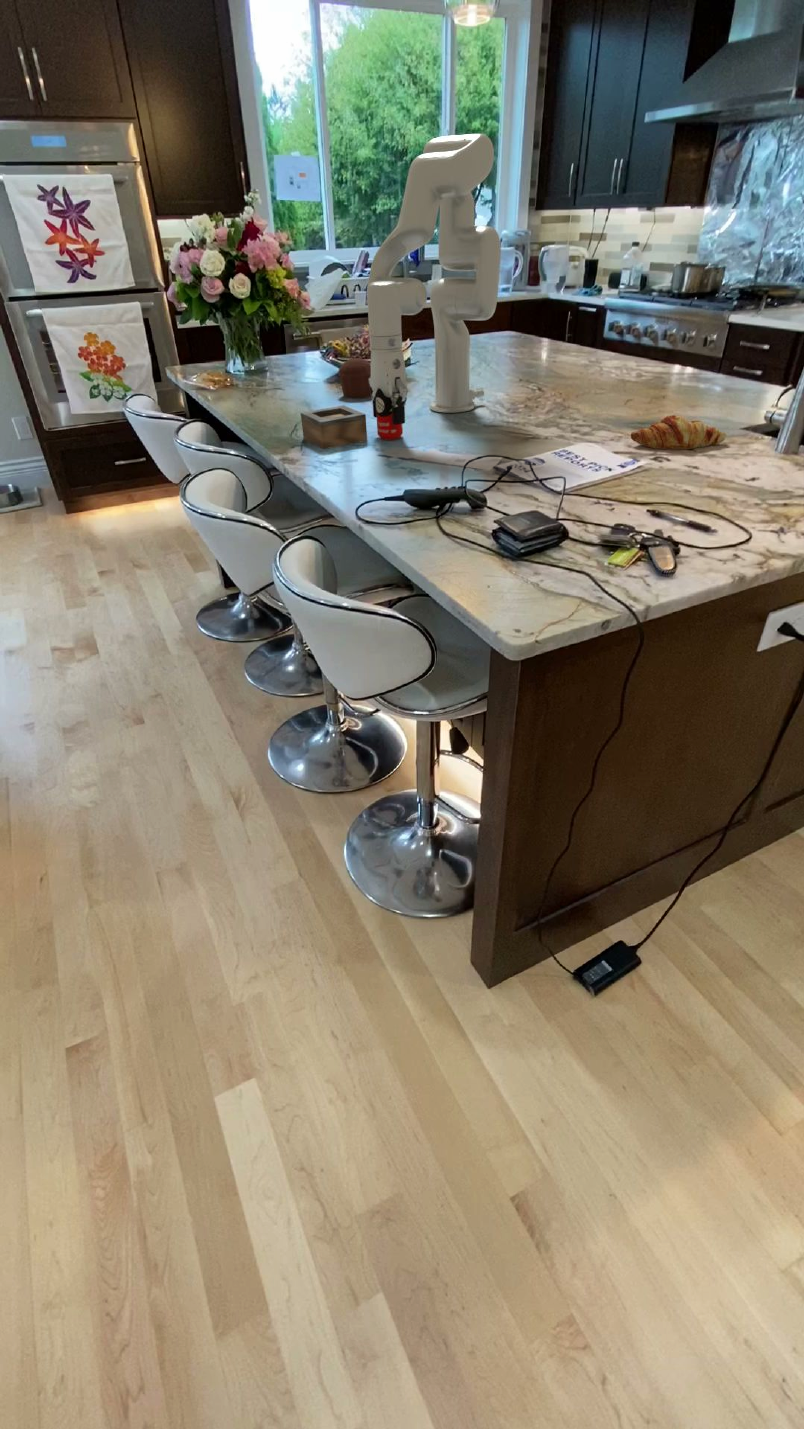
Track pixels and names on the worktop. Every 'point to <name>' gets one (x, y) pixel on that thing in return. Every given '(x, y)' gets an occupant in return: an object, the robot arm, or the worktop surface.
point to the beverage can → (386, 417)
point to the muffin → (355, 378)
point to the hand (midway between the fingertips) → (389, 420)
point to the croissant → (678, 434)
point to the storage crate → (334, 426)
